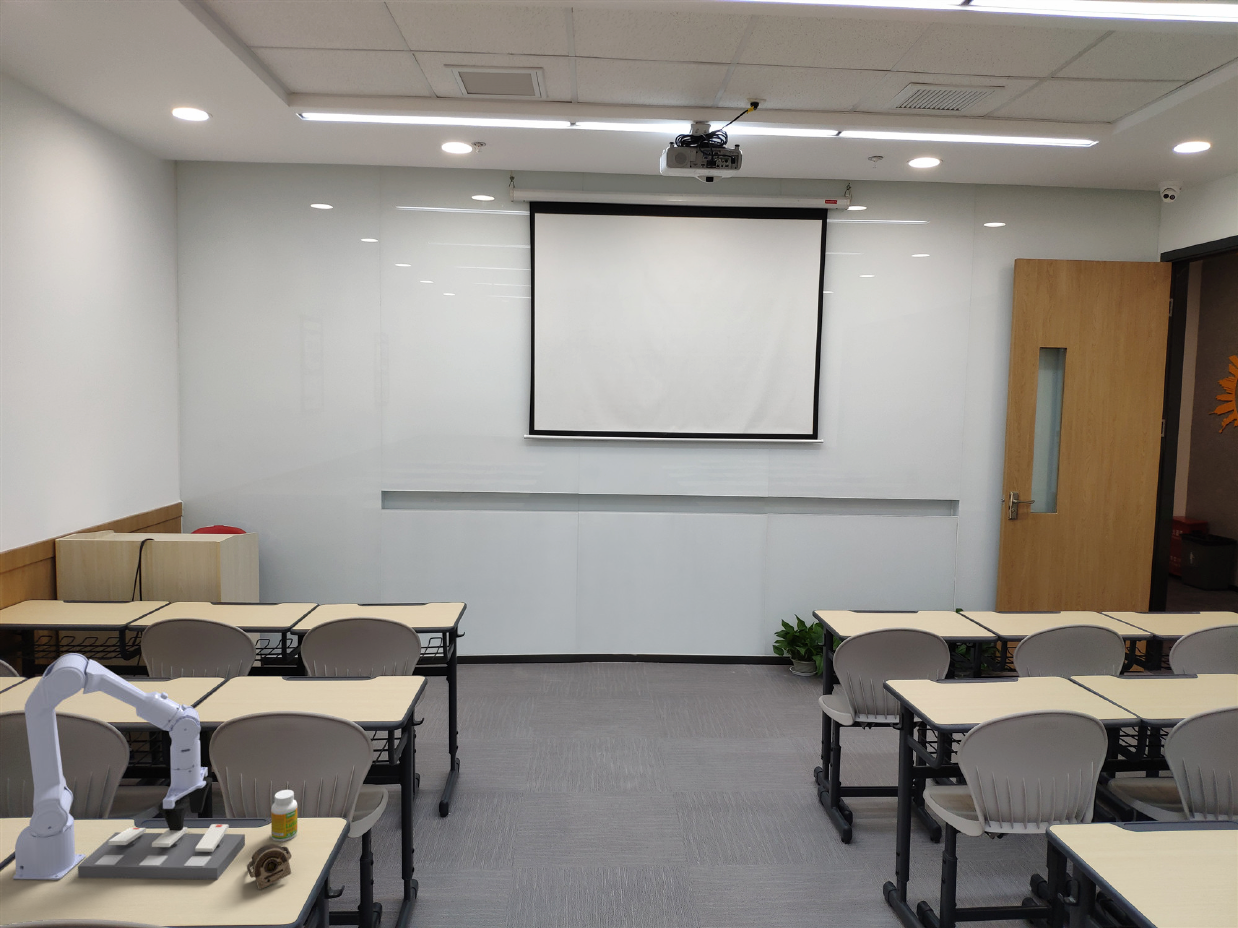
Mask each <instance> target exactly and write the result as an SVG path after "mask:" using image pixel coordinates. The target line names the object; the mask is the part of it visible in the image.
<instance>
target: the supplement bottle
mask: <svg viewBox="0 0 1238 928" xmlns="http://www.w3.org/2000/svg"><path fill="white" fill-rule="evenodd" d="M270 810H271V813H270V814H271V816H270V817H271V823H270V824H271V827H270V828H271V829H270V831H271V839H272V840H273V841H275V842H285V841H289V840H292V839H293V838H294V837H296V836H297V834H298V803H297V800H296V799H295V793H294V790H291V789H282V790H279V791H278V792H276V793H275V795H274V803H272V805H271V809H270Z"/></svg>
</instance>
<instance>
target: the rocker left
mask: <svg viewBox="0 0 1238 928" xmlns="http://www.w3.org/2000/svg"><path fill="white" fill-rule="evenodd" d="M146 829H147V828H146V827H128V828H127V829H124V831H121V833H120V834H118V835H117V836H115V837H114V838H112V839H111V840H109V841H108V845H126V844H128V843H129V842H131V841H132V840H135V838H137V837H138V836H140V835H141V834H143V833H147V832H146Z"/></svg>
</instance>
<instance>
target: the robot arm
mask: <svg viewBox="0 0 1238 928" xmlns="http://www.w3.org/2000/svg"><path fill="white" fill-rule="evenodd" d="M82 689H83V690H82ZM81 690H82V695H87V694H92V693H95V692H102V693H103V694H106V695H108V696H110V697H112V698H114V699H116V700H119V701H121V702H122V703H125V704H127V705H129V706H132V707H133V708H135V714H136V716H137V717H139V718H140V719H142V720H144V721H146V722H147V723H150V724H152V725H154V726H156V727H157V728H159V729H160V730H163V731H168V733H169V735H168V736H169V737H170V739H171V745H170V786H169V788H168V791H167V793H166V795H165V797H164V798H163V800H162V802H161V803H160V804H159V805H158V806H157V807H158V808H157V809H158V812H159V813H160V814H161V815H162V816H163V818H164V820H165V821H166V824H167V826H168V829H169V830H170V831H181V830H182V829H183V827H184V822H185V815H186V811H187V809H188V806H189V808H190V812H191V814H202V812H203V809H204V806H205V803H206V798H207V794H208V792H209V789H210V787H211V785H212V783H213V778H212V777H207V776H208V767H205V766H204V767H203V766H201V740H200V732H201V729H202V727H201V722H200V721H201V720H200V714H199V713H198V711H197V709H196V708H194V707H193V706H191V705H186V704H185V703H183V704H179V703H178V702H176V701H174V700H172V699H171V698H169V694H168V693H166V692H165V691H162V692H161V693H159V692H158V691H152V692H145V691H144V690H142V689H140V688H138V687H137V686H135V685H134V684H132V683H130V682H129V681H127V680H126V679H124V678H122V677H121V676H119V675H117V674H116V673H114V672H113V671H111V670H110V669H108V668H106V667H105V666H103V665H102V664H101V663H99V662H98V661H96V660H93V659H90V658H89V660H88V658H87V657H86V656H85V655H83V654H80V653H76V652H75V653H74V652H73V653H72V652H71V653H66V654H64V655H61V656H60V657H58V658H57V659H56V660H54V661H53V662H52V663H51V664H50V665H49V666H47V668H46V669H45V671H44V672H43V674H42V676H41V677H40V679H39V681H38V682H37V684H36V685H35V686H34V688H33V689H32V692H30V694H29V696H28V697H27V699H26V701H25V703H24V715H25V723H26V732H27V733H26V734H27V739H28V748H29V756H30V765H31V774H32V780H33V787H34V788H33V801H32V802H33V803H32V806H33V813H32V814H31V815H32V816H31V817H30V819H29V825H28V826H26V827H25V828H24V829H22V831H20V833H19V835H18V836H17V838H16V842H15V846H14V854H15V859H14V860H15V874H14V875H13V876H12V878H13V880H54V881H55V880H61V879H62V878H63V877H64V876H65V875H67V874H68V873H69V872H70V871H71V870H72V869H73V868H74V867H75V866H77V865H78V864H79V863H80V862H82V860H83V859H86V854H84V853H83V854H81V853H76V847H75V845H76V841H75V818H74V817H73V816H72V815H71V814H70V809H71V806H72V804H73V800H74V795H73V792H72V790H70V789H69V788H68V786H67V781H66V778H65V776H64V775H63V774H64V773H63V766H62V765H63V764H62V757H61V748H60V747H61V746H60V741H59V740H60V739H59V731H58V722H57V716H56V715H57V713H56V708H57V706H58V705H60V704H61V703H62V702H63V701H65V700H66V699H68V698H69V699H70V698H71V697H72V696H74V695H76V694H78V693H80V691H81ZM186 795H188V799H189V800H188V801H189V803H182V802H181V801H180V799H181V798H183V797H185V796H186Z"/></svg>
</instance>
